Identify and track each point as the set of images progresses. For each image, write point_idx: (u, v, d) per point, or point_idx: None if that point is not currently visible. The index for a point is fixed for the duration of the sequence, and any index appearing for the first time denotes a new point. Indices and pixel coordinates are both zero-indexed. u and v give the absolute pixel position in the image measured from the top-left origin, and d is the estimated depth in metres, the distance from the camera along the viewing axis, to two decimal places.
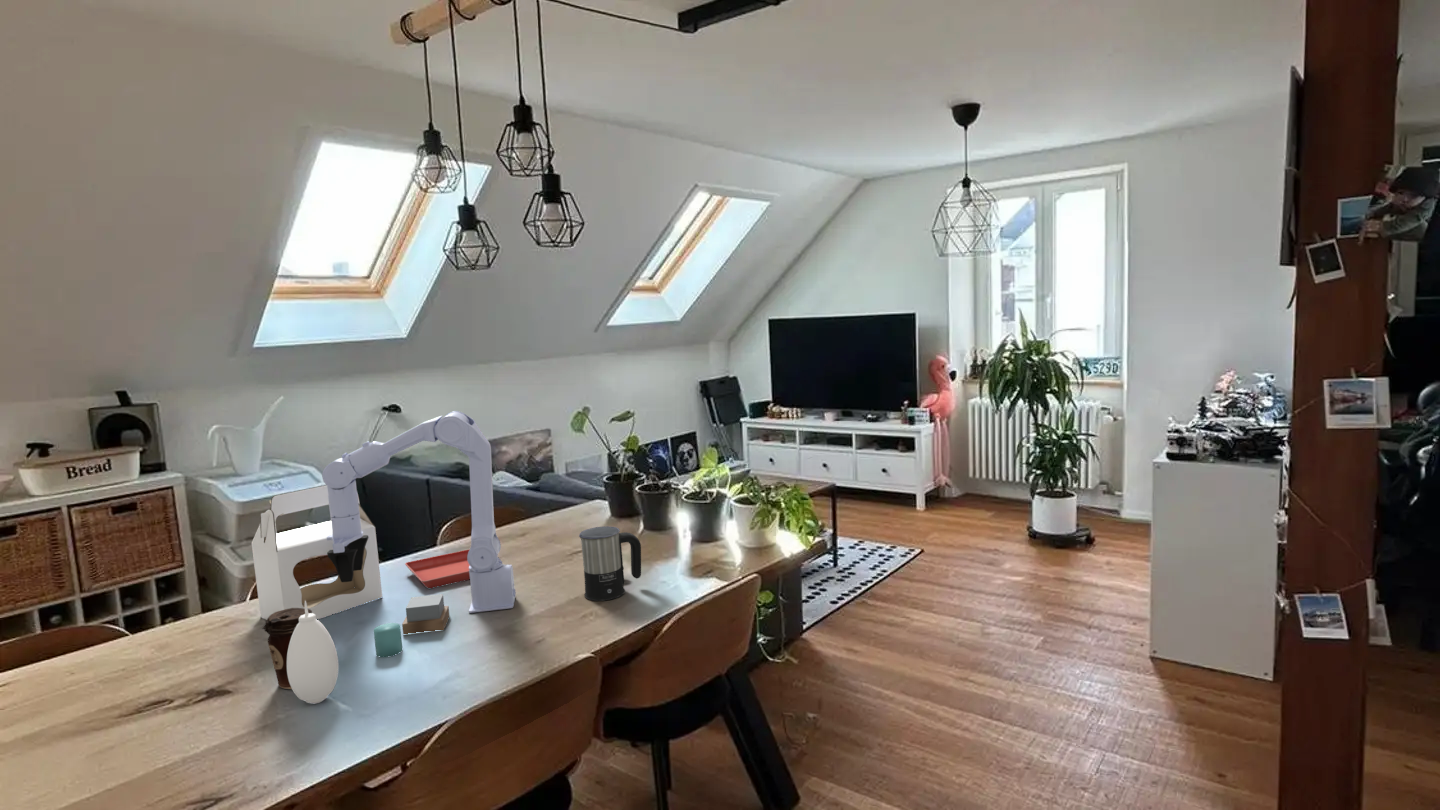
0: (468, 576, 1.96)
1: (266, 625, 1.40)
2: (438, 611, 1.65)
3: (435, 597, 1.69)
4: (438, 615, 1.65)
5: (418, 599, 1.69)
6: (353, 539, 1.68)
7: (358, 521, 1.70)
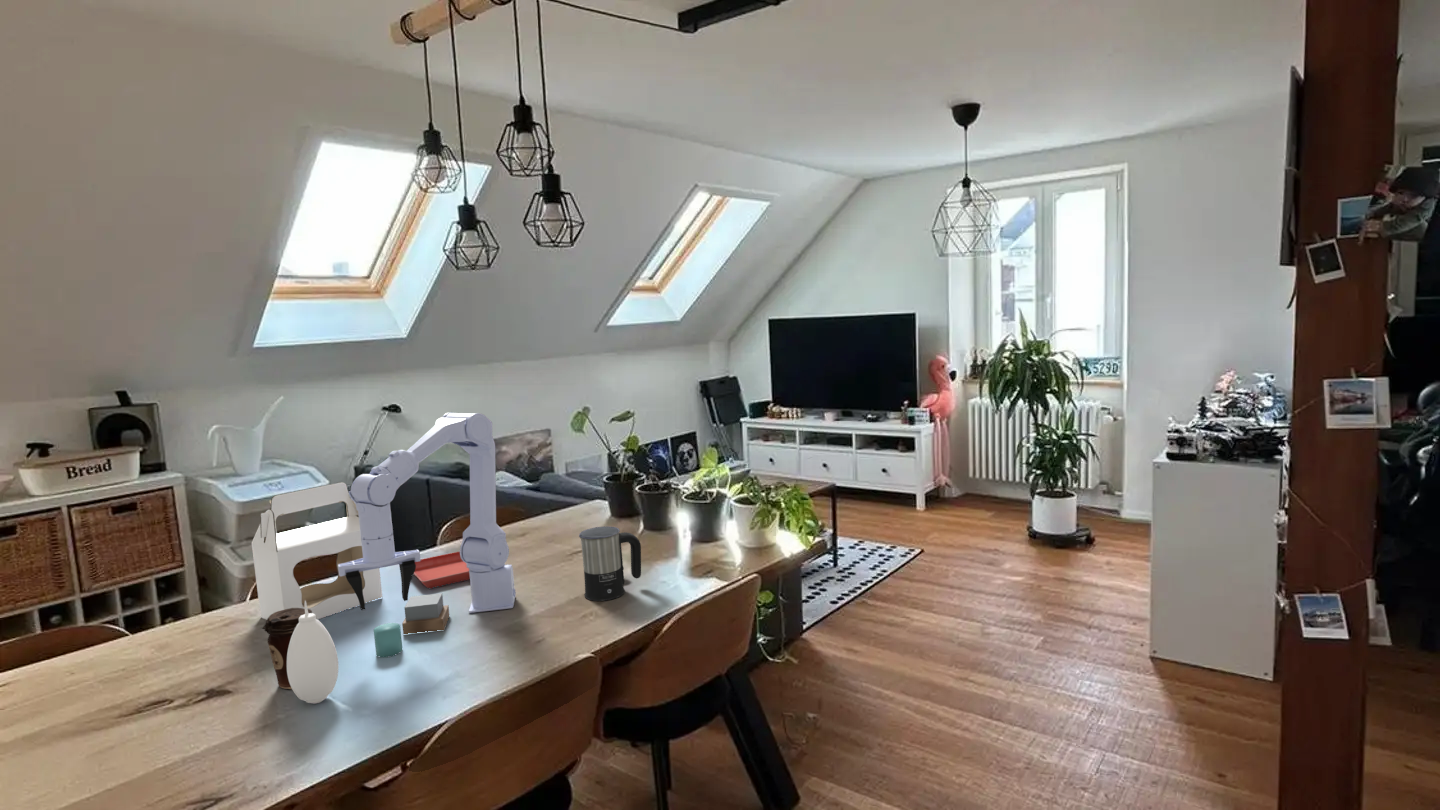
0: (468, 576, 1.96)
1: (266, 625, 1.40)
2: (436, 610, 1.65)
3: (434, 596, 1.69)
4: (436, 614, 1.65)
5: (417, 598, 1.69)
6: (362, 566, 1.50)
7: (375, 548, 1.50)
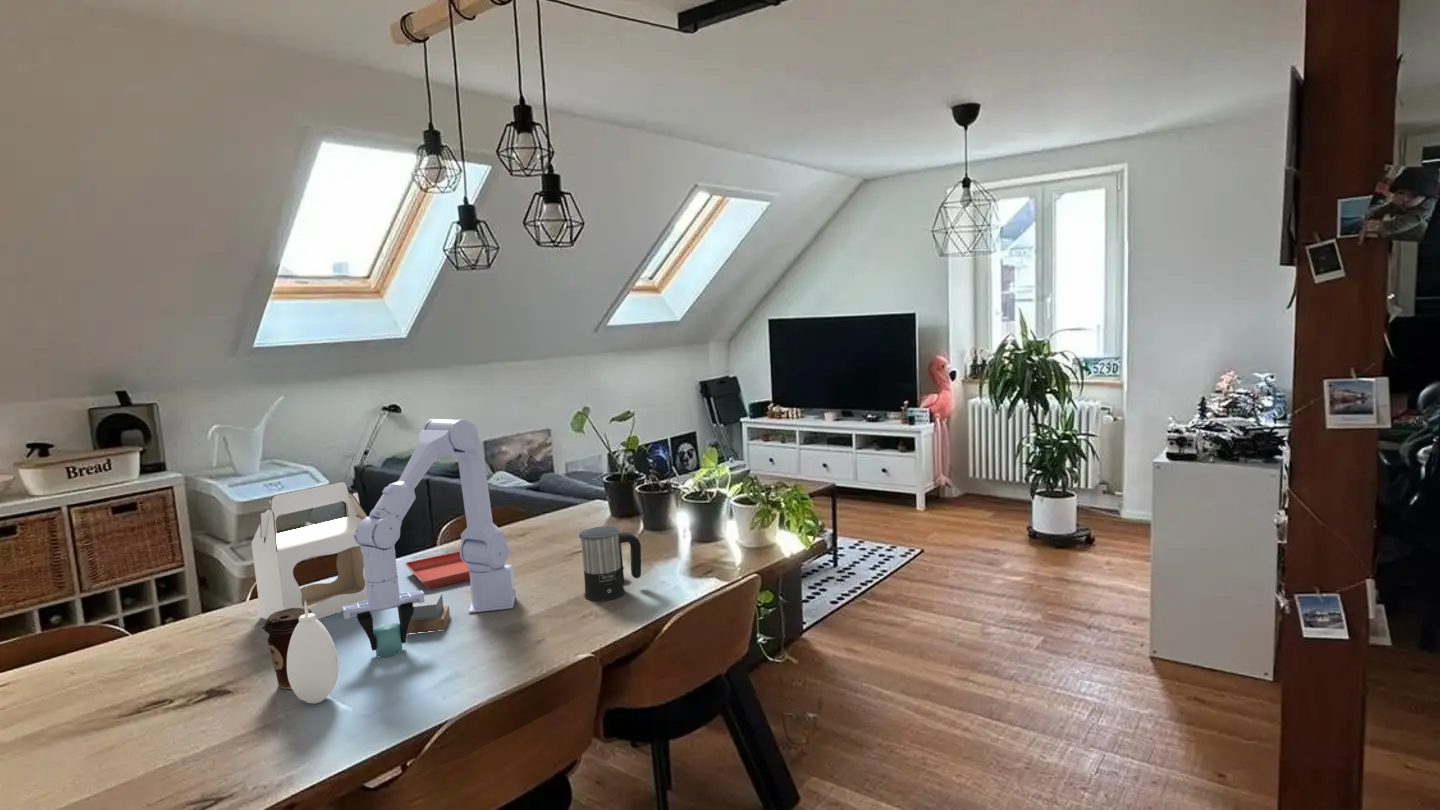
0: (468, 576, 1.96)
1: (266, 625, 1.40)
2: (436, 611, 1.65)
3: (433, 597, 1.69)
4: (436, 615, 1.65)
5: None
6: (367, 608, 1.51)
7: (380, 590, 1.51)
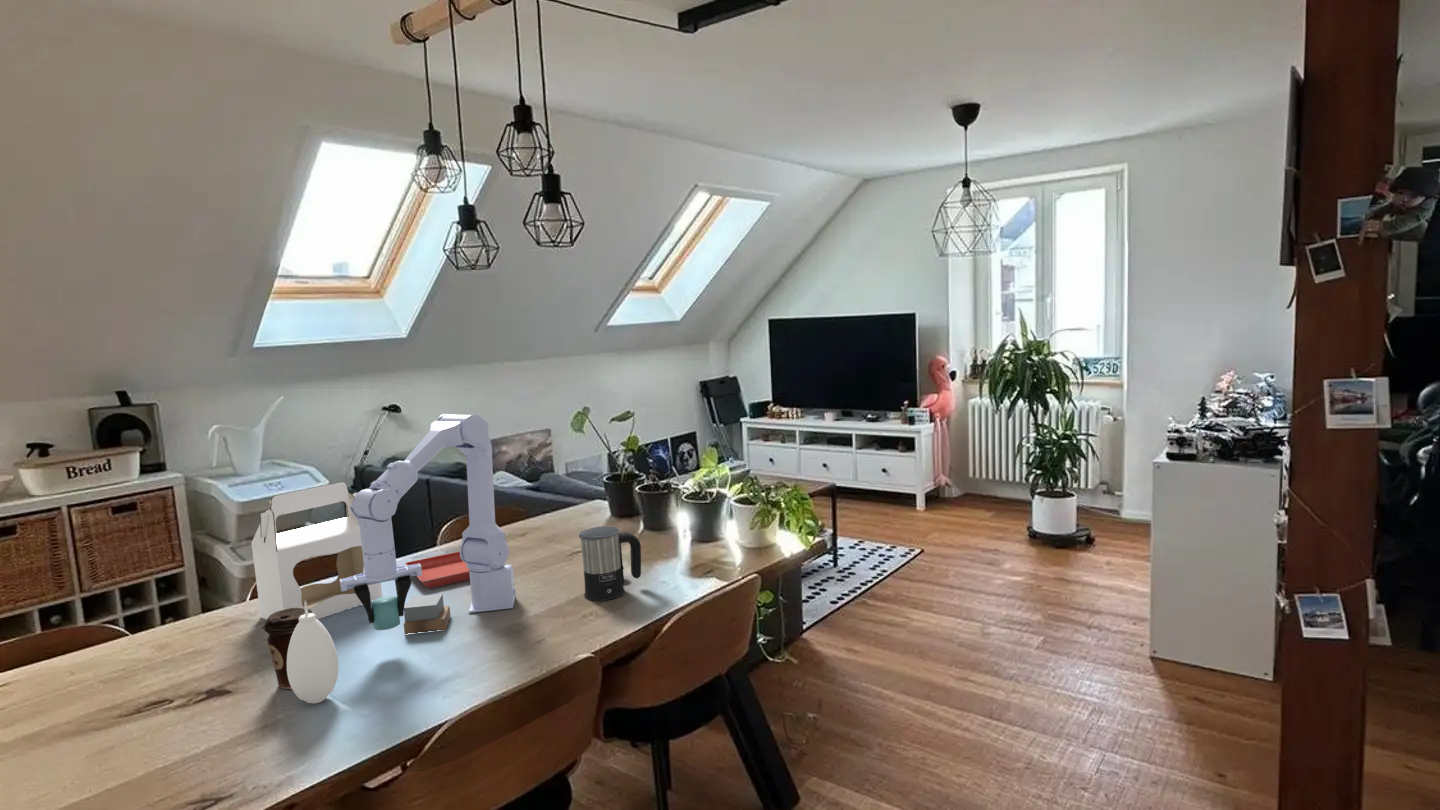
0: (468, 576, 1.96)
1: (266, 625, 1.40)
2: (435, 611, 1.65)
3: (434, 597, 1.69)
4: (436, 615, 1.65)
5: (417, 598, 1.69)
6: (364, 581, 1.50)
7: (377, 563, 1.51)
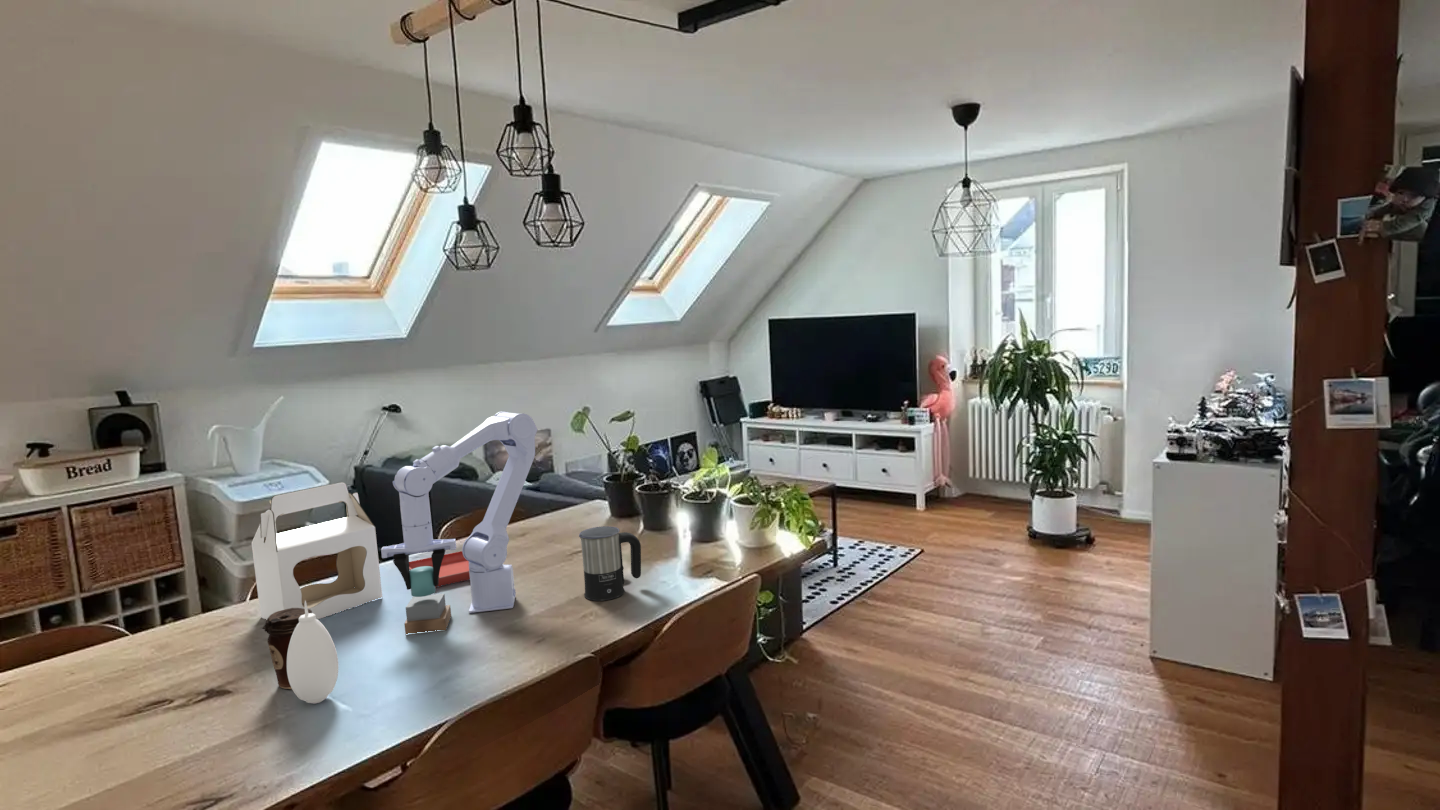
0: (468, 576, 1.96)
1: (266, 625, 1.40)
2: (437, 611, 1.65)
3: (436, 597, 1.69)
4: (437, 615, 1.65)
5: (419, 598, 1.69)
6: (400, 550, 1.63)
7: (412, 534, 1.63)
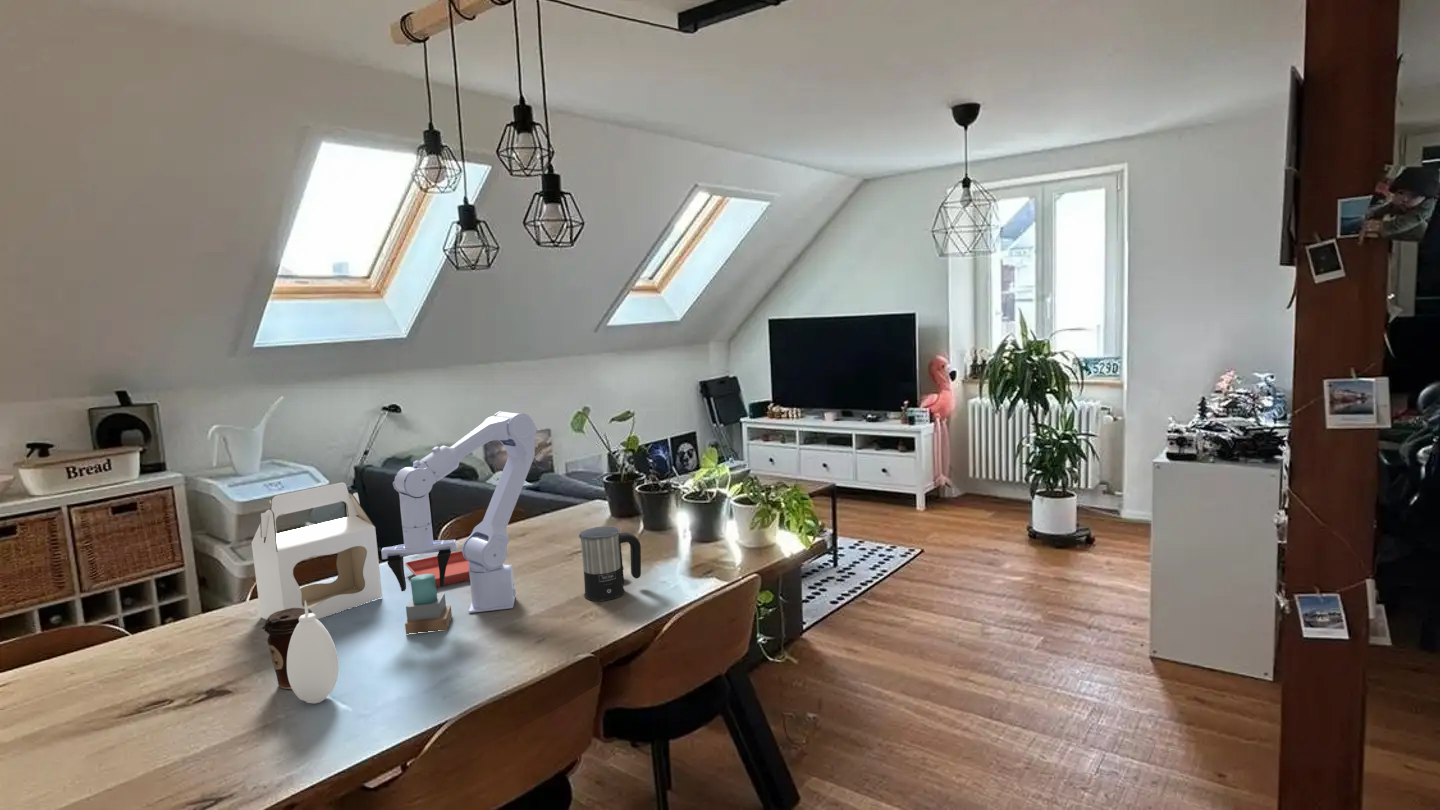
0: (468, 576, 1.96)
1: (266, 625, 1.40)
2: (438, 610, 1.65)
3: None
4: (438, 614, 1.65)
5: None
6: (401, 551, 1.63)
7: (412, 535, 1.63)
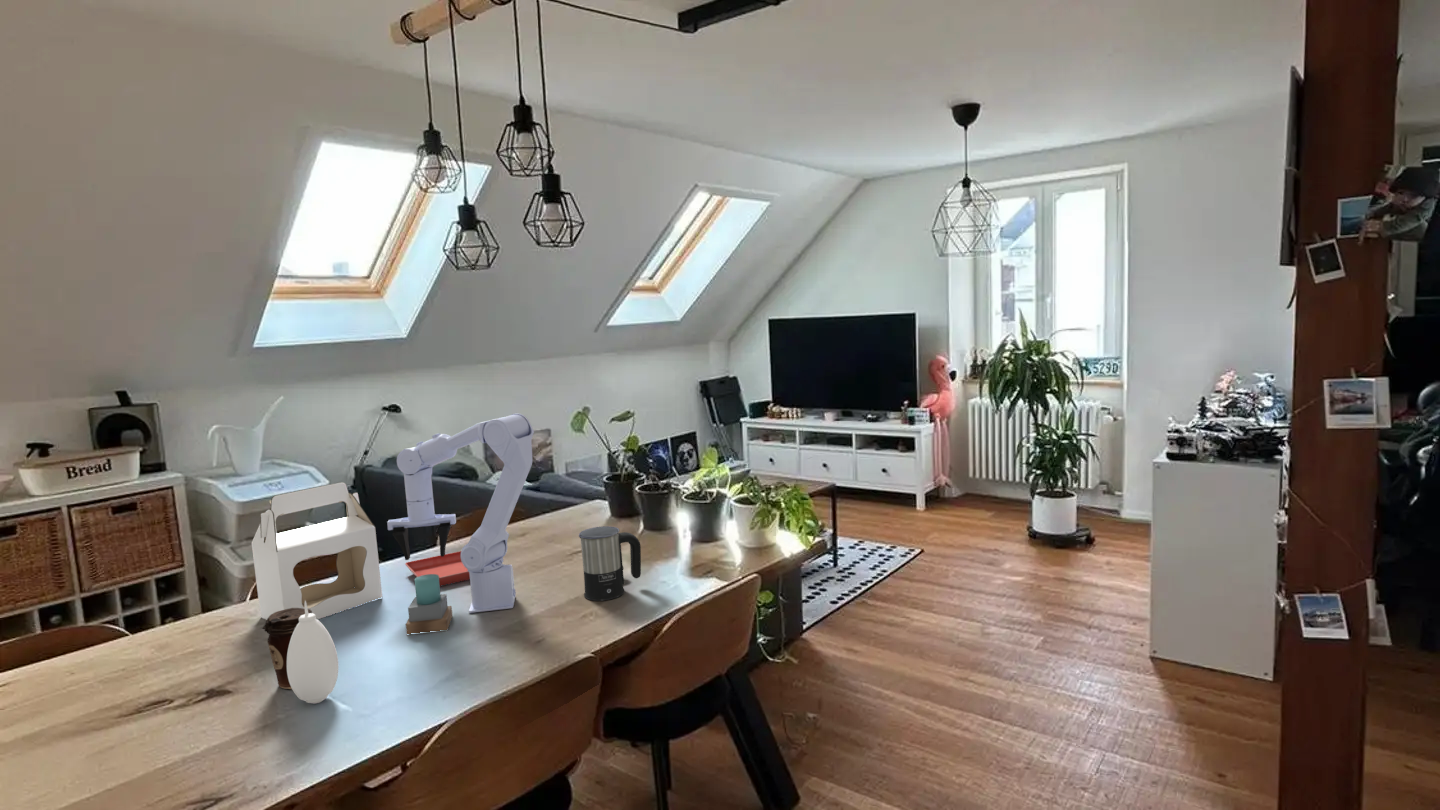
0: (468, 576, 1.96)
1: (266, 625, 1.40)
2: (440, 611, 1.65)
3: None
4: (440, 615, 1.65)
5: None
6: (404, 523, 1.78)
7: (414, 509, 1.77)
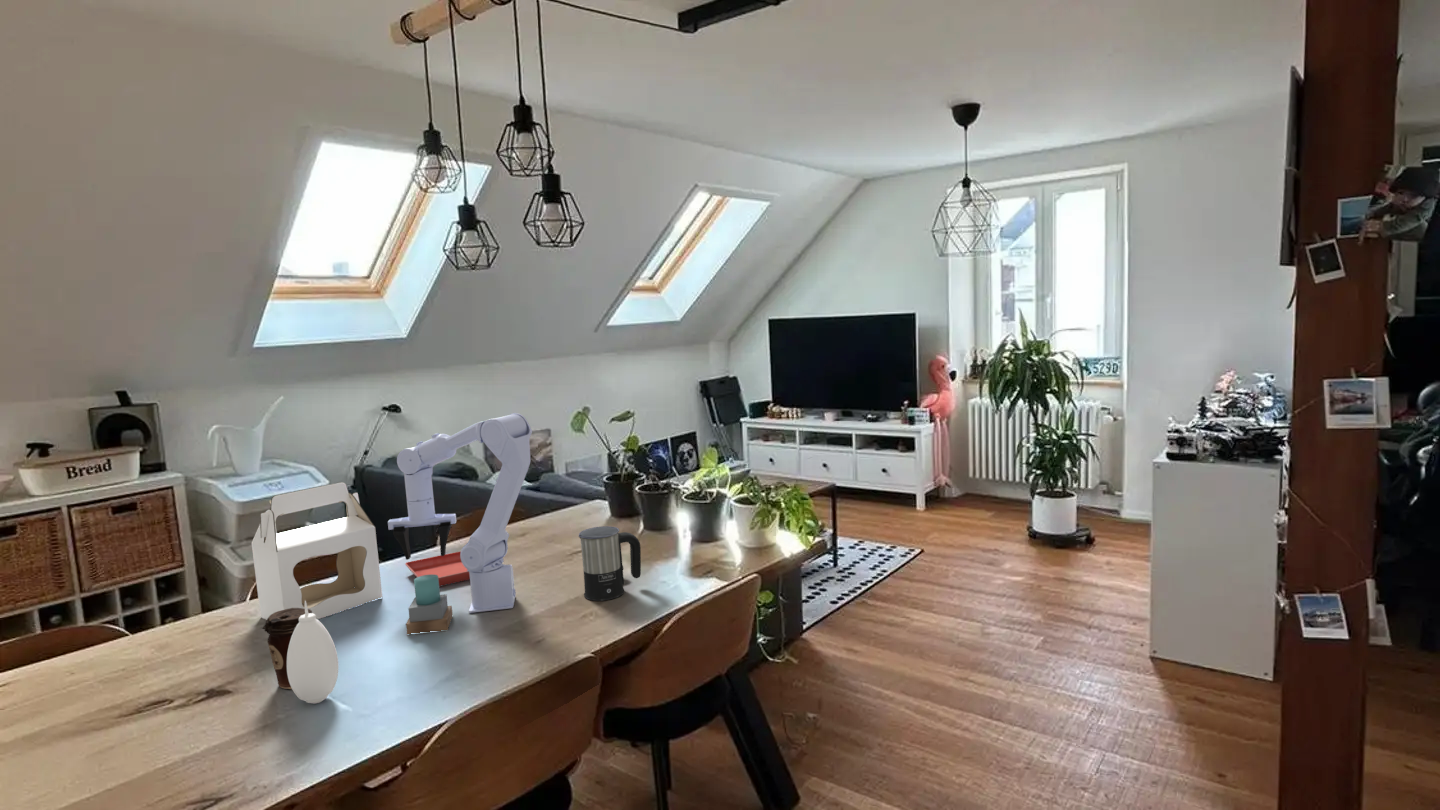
0: (468, 576, 1.96)
1: (266, 625, 1.40)
2: (440, 611, 1.65)
3: None
4: (440, 615, 1.65)
5: None
6: (405, 522, 1.79)
7: (415, 508, 1.78)
